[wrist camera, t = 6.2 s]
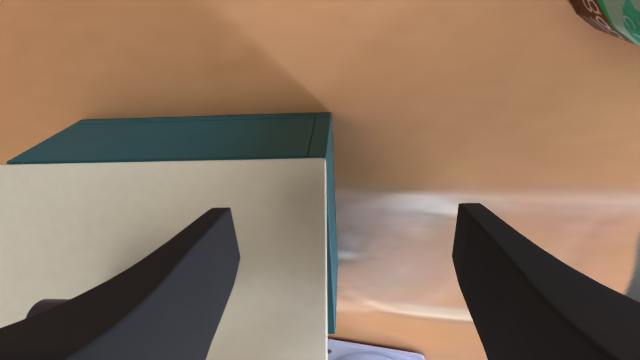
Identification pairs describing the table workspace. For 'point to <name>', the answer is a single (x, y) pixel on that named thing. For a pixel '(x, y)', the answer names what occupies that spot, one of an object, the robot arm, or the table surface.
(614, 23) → the food container
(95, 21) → the table surface
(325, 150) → the cool box
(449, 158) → the table surface
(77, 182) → the lid
